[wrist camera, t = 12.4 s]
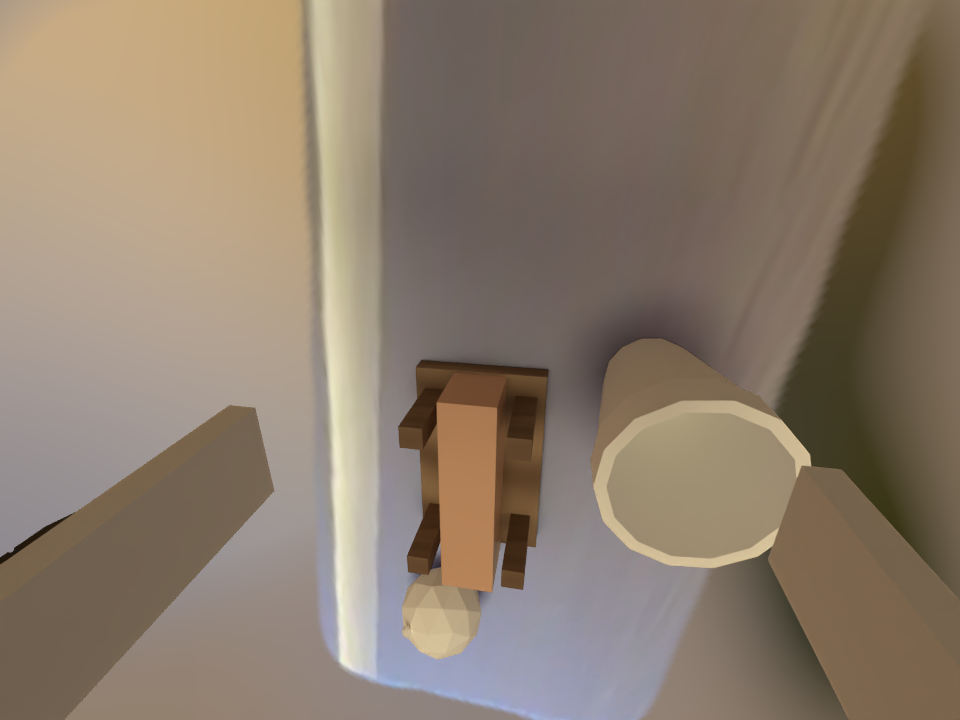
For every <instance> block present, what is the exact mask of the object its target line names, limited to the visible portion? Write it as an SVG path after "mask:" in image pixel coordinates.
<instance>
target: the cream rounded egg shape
mask: <svg viewBox="0 0 960 720" xmlns="http://www.w3.org/2000/svg"><path fill="white" fill-rule="evenodd" d="M402 612H403V625H404V628H403V629H402V634H403V636H404V637H405V638H407V637H408V639H409V640H410V641H411V642H412V643H413V644H414V645H415V646H416V648H417V649H418V650H419V651H420V652H422V653H425V654H427V655H429V656H431V657H433V658H436V659H441V658H445V657H449V656H452V655H456V654H459V653H461V652H462V651H463V650H464V649H465V647H466V646H467V645H468V644H469V643H470V642H471V640H472V639H473V638H474V637H475V636H476V634H477V632H478V627H479V622H480V617H481V607H480V601H479V596H478V590H473V589H467V588H461V587H454V586H448V585H442V572H441V567H439V568H435V569H431V570H430V573H429V575H424V574H421V575H420V576H419V577H418V578H417V579H416V580H415V581H414V582H413V583H412V584H411V585H410V586H409V587H408V589H407V592H406V596H405V599H404V603H403V607H402Z"/></svg>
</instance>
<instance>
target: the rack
mask: <svg viewBox="0 0 960 720" xmlns="http://www.w3.org/2000/svg"><path fill="white" fill-rule="evenodd" d="M454 373H463V374H475V375H488V376H500V377H507V379H506V407H505V436H504V464H503V493H502V521H501V543H506V547H505V553H504V559H503V565H502V576H501V586H502V587H508V588H515V589H521V590H523V585H524V575H525V565H526V555H527V546H530V547H536V535H537V521H538V507H539V493H540V479H541V464H542V450H543V436H544V422H545V408H546V394H547V379H548V370H545V369H532V368H518V367H505V366H492V365H478V364H465V363H451V362H438V361H424V360H421V362H420V363H419V364H418V365H417V367H416V381H417V400H416V402H415V403H414V405H413V406H412V407H411V409H410V410H409V412H408V413H407V415H406V416H405V418H404V419H403V420H402V422H401V423H400V425H399V426H398V430H399V445H400V448H408V449H418V450H420V464H421V484H422V505H423V520H422V522H421V524H420V527H419V529H418V531H417V534H416V536H415V538H414V541H413V543H412V545H411V548H410V550H409V552H408V555H407V562H408V572H411V573H418V574H424V575H429V573H430V570H431V567H432V564H433V561H434V558H435V555H436V552H437V550H438V547H439V544H440V541H441V538H440V504H439V469H438V435H437V401H438V399H439V397H440V396H441V394H442V392H443V391H444V389H445V387H446V386H447V384H448V382H449V380H450V379H451V377H452V375H453V374H454Z"/></svg>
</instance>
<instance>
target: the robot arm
mask: <svg viewBox="0 0 960 720" xmlns="http://www.w3.org/2000/svg"><path fill="white" fill-rule="evenodd" d="M273 492H274V488H273V483H272V479H271V475H270V470H269V466H268V462H267V457H266V453H265V449H264V444H263V440H262V435H261V431H260V427H259V422H258V418H257V414H256V409H255V408H250V407H241V406H231V405H230V406H228V407H226V408H225V409H223V410H222V411H221V412H219V413H218V414H216V415H215V416H214V417H212V418H211V419H209V420H208V421H206V422H205V423H203V424H202V425H200V426H199V427H198V428H196V429H195V430H193V431H192V432H190V433H189V434H188V435H186V436H185V437H183V438H182V439H181V440H179V441H177V442H176V443H175V444H173V445H172V446H170V447H169V448H167V449H166V450H165V451H163V452H162V453H160V454H159V455H157V456H156V457H155V458H153V459H152V460H150V461H149V462H147V463H146V464H144V465H143V466H142V467H140V468H139V469H137V470H136V471H134V472H133V473H132V474H130V475H129V476H127V477H126V478H124V479H123V480H121V481H120V482H119V483H117V484H116V485H114V486H113V487H111V488H110V489H109V490H107V491H106V492H104V493H103V494H101V495H100V496H98V497H97V498H96V499H94V500H93V501H91V502H90V503H89V504H87V505H85V506H84V507H83V508H81V509H80V510H78V511H77V512H75V513H73V514H70V515H69V516H67V517H64V518H63V519H60V520H58V521H56V522H54V523H52V524H50V525H48V526H46V527H44V528H43V529H41V530H40V531H38V532H37V533H35V534H34V535H33V536H31V537H29V538H28V539H27V540H25V541H24V542H22V543H21V544H19V545H18V546H16V547H15V548H14V551H13V552H11V553H9V552H7V553H6V554H5V555H3V556H2V557H0V720H65V718H66V717H67V716H68V715H69V714H70V713H71V712H72V711H73V710H74V709H75V708H76V706H77V705H78V704H79V703H80V702H81V701H82V700H83V699H84V698H85V697H86V696H87V694H88V693H89V692H90V691H91V690H92V689H93V688H94V687H95V686H96V685H97V683H98V682H99V681H100V680H101V679H102V678H103V677H104V676H105V675H106V674H107V673H108V671H109V670H110V669H111V668H112V667H113V666H114V665H115V664H116V663H117V662H118V661H119V660H120V658H121V657H122V656H123V655H124V654H125V653H126V652H127V650H129V649H130V647H131V646H132V645H133V644H134V643H135V642H136V641H137V640H138V639H139V638H140V637H141V636H142V634H143V633H144V632H145V631H146V630H147V629H148V628H149V627H150V626H151V625H152V624H153V622H154V621H155V620H156V619H157V618H158V617H159V616H160V615H161V614H162V613H163V612H164V610H165V609H166V608H167V607H168V606H169V605H170V604H171V603H172V602H173V601H174V600H175V599H176V597H177V596H178V595H179V594H180V593H181V592H182V591H183V590H184V589H185V588H186V586H187V585H188V584H189V583H190V582H191V581H192V580H193V579H194V578H195V577H196V575H198V573H199V572H200V571H201V570H202V569H203V568H204V567H205V566H206V565H207V563H209V561H210V560H211V559H212V558H213V557H214V556H215V555H216V554H217V553H218V551H220V549H221V548H222V547H223V546H224V545H225V544H226V543H227V542H228V541H229V539H231V537H232V536H233V535H234V534H235V533H236V532H237V531H238V530H239V529H240V528H241V527H242V525H243V524H244V523H245V522H246V521H247V520H248V519H249V518H250V517H251V516H252V515H253V513H254V512H255V511H256V510H257V509H258V508H259V507H260V506H261V505H262V504H263V503H264V501H265V500H266V499H267V498H268V497H269V496H270V495H271V494H272V493H273ZM768 561H769V563H770V565H771V567H772V569H773V570H774V572H775V575H776V577H777V579H778V580H779V582H780V585H781V586H782V588H783V590H784V592H785V594H786V596H787V598H788V600H789V602H790V604H791V606H792V608H793V610H794V612H795V614H796V616H797V618H798V620H799V622H800V624H801V626H802V628H803V630H804V632H805V634H806V636H807V638H808V640H809V642H810V644H811V646H812V648H813V650H814V652H815V654H816V656H817V658H818V660H819V662H820V663H821V665H822V667H823V669H824V671H825V673H826V675H827V677H828V679H829V681H830V683H831V685H832V687H833V689H834V691H835V693H836V695H837V697H838V699H839V701H840V703H841V705H842V707H843V709H844V711H845V713H846V715H847V717H848V719H849V720H960V601H959V599H958V598H957V597H956V596H955V595H954V594H953V593H952V592H951V591H950V589H948V587H947V586H946V585H945V584H944V583H943V582H942V581H941V579H940V578H939V577H938V576H937V575H936V574H935V573H934V572H933V571H932V570H931V568H930V567H929V566H928V565H927V564H926V563H925V562H924V561H923V559H922V558H921V557H920V556H919V555H918V554H917V553H916V552H915V551H914V550H913V548H912V547H911V546H910V545H909V544H908V543H907V542H906V541H905V540H904V538H903V537H902V536H901V535H900V534H899V533H898V532H897V531H896V530H895V528H894V527H893V526H892V525H891V524H890V523H889V522H888V521H887V520H886V518H885V517H884V516H883V515H882V514H881V513H880V512H879V511H878V510H877V509H876V507H875V506H874V505H873V504H872V503H871V502H870V501H869V500H868V499H867V498H866V496H865V495H864V494H863V493H862V492H861V491H860V490H859V489H858V488H857V486H855V484H854V483H853V482H852V481H851V480H850V479H849V478H848V477H847V475H846V474H845V473H844V472H843V471H842V470H840V469H830V468H821V467H812V466H801V468H800V471H799V474H798V477H797V480H796V482H795V485H794V488H793V491H792V494H791V496H790V499H789V502H788V505H787V508H786V510H785V513H784V516H783V519H782V521H781V524H780V527H779V530H778V533H777V535H776V538H775V541H774V544H773V547H772V549H771V552H770V555H769V558H768Z"/></svg>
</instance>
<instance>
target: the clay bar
mask: <svg viewBox="0 0 960 720" xmlns="http://www.w3.org/2000/svg"><path fill="white" fill-rule="evenodd" d="M506 379H507V377H500V376H488V375H475V374H463V373H454V374H453V375H452V377H451V379H450V380H449V382H448V384H447V386H446V387H445V389H444V391H443V392H442V394H441V396H440V397H439V399H438V401H437V435H438V469H439V504H440V538H441V572H442V585H448V586H454V587H461V588H467V589H473V590H479V591H486V592H492V591H493V585H494V579H495V574H496V568H497V562H498V557H499V551H500V545H501V521H502V493H503V464H504V436H505V407H506Z"/></svg>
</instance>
